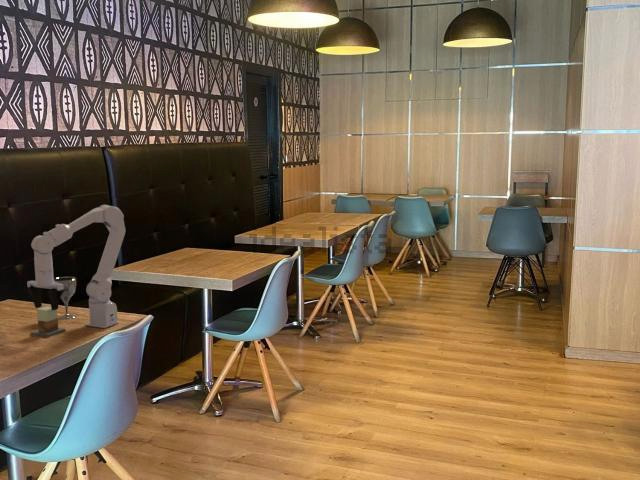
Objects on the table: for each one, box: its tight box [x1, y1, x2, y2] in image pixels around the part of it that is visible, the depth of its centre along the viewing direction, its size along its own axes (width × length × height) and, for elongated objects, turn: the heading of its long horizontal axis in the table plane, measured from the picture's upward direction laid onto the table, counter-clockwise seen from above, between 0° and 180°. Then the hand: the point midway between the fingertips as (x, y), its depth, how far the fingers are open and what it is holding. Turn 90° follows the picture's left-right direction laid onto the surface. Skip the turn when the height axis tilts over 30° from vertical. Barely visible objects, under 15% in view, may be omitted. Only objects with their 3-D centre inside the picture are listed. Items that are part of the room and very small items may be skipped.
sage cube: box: [36, 305, 58, 322], centre depth 220 cm, size 4×4×4 cm
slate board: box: [29, 327, 66, 339], centre depth 221 cm, size 8×8×1 cm
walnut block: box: [37, 318, 59, 333], centre depth 221 cm, size 4×4×4 cm
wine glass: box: [54, 276, 78, 320], centre depth 241 cm, size 8×8×15 cm
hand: (46, 308), depth 220 cm, fingers open, 7 cm apart
